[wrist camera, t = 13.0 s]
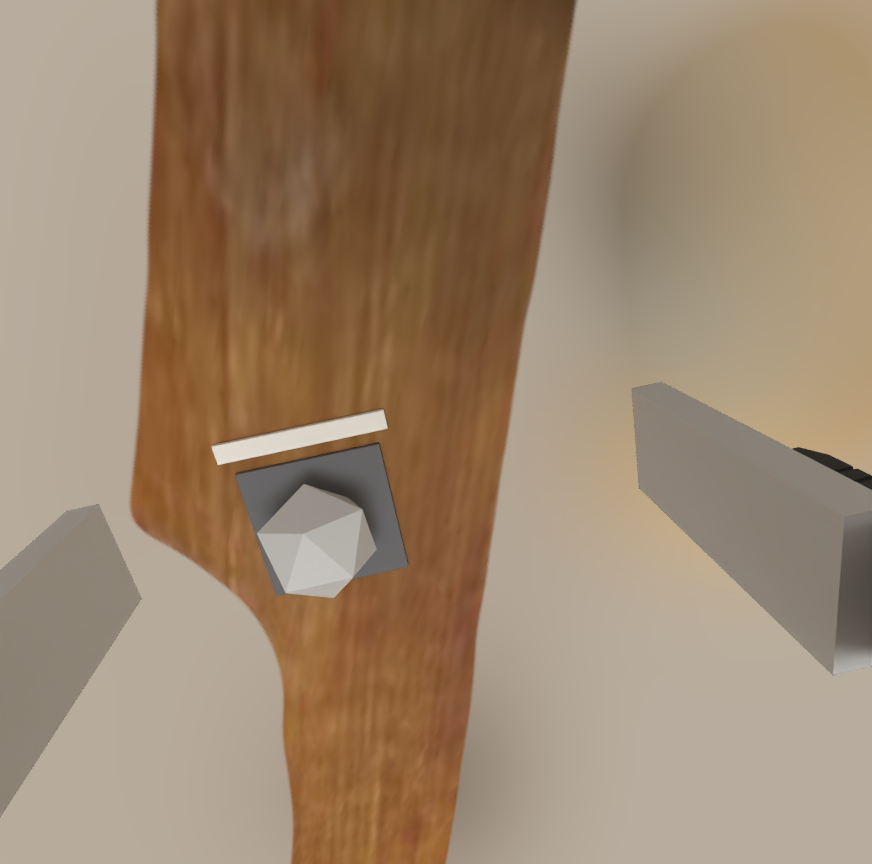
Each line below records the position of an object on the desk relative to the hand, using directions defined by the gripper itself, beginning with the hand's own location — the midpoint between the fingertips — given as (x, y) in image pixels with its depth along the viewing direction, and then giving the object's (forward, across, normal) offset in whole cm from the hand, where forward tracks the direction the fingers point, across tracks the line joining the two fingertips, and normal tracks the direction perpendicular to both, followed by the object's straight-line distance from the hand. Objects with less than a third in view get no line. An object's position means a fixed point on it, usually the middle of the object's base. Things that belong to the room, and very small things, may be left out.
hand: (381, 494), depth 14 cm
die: (+31, -8, -16) cm, 36 cm away
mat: (+31, -8, -15) cm, 36 cm away
